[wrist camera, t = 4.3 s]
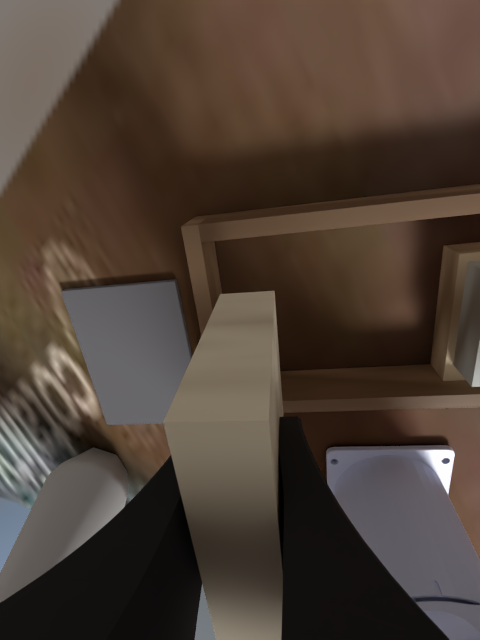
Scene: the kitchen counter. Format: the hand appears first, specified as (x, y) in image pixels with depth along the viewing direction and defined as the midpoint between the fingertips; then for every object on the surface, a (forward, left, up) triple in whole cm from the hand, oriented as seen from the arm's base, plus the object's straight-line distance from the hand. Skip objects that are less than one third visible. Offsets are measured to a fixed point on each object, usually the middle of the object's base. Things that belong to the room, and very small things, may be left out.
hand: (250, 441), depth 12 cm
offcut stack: (0, -11, -10) cm, 15 cm away
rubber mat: (-2, +8, -10) cm, 13 cm away
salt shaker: (-12, +14, -10) cm, 21 cm away
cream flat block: (0, 0, -3) cm, 3 cm away
